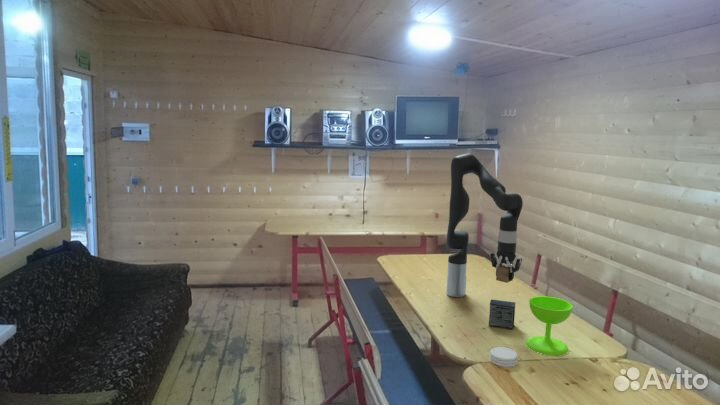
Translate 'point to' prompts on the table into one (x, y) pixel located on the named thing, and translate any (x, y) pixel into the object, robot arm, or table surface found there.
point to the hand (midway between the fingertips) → (504, 278)
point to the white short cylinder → (503, 357)
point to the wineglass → (549, 324)
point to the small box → (502, 314)
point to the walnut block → (503, 273)
